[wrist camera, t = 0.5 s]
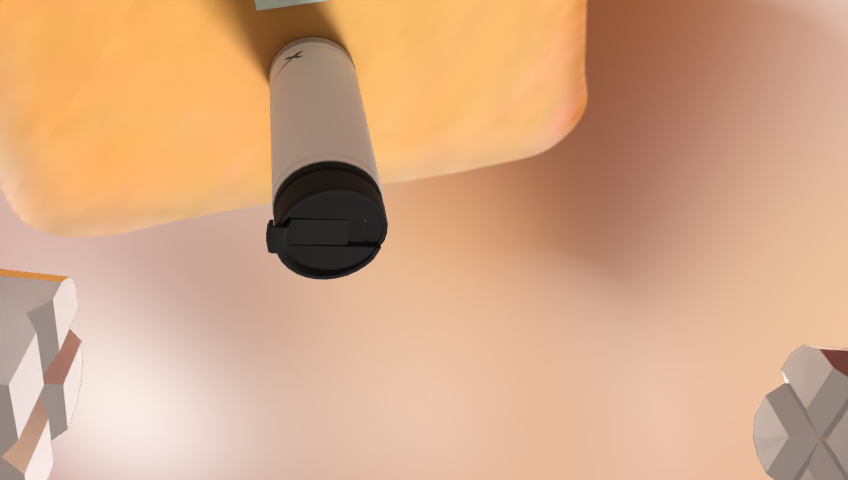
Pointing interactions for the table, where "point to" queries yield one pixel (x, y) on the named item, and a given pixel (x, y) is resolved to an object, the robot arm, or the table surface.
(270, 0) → the pale green square tray
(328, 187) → the travel mug
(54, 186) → the table surface
